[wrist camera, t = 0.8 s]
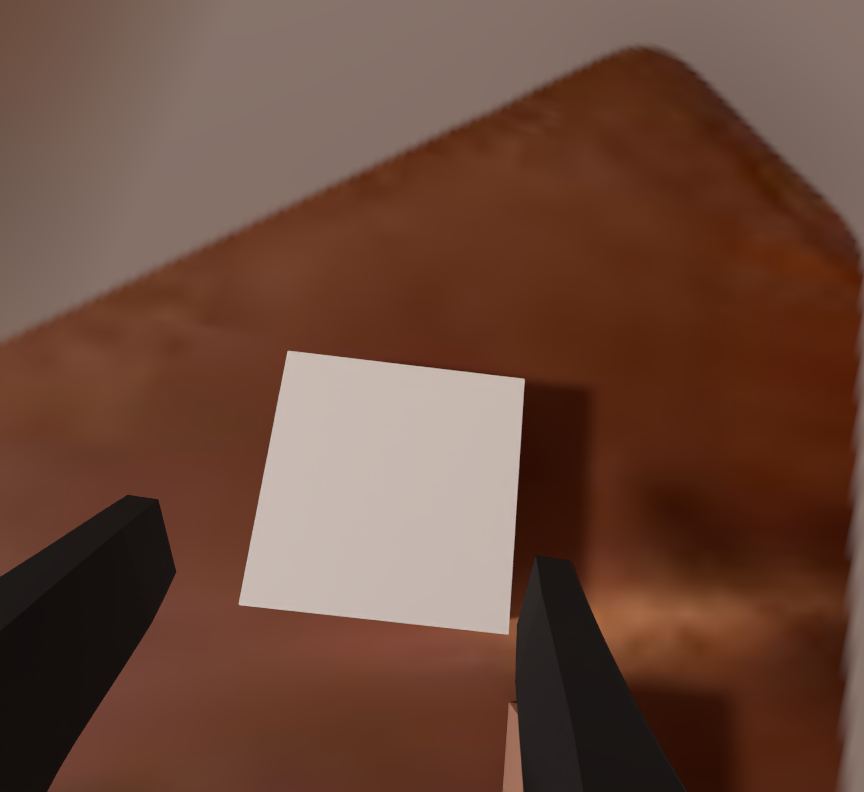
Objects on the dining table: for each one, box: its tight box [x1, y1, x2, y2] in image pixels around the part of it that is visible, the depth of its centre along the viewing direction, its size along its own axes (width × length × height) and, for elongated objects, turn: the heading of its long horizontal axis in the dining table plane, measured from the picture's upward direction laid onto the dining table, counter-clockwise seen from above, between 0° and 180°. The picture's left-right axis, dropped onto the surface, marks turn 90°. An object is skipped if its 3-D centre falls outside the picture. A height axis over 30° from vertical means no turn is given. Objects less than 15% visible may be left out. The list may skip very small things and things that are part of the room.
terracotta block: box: [503, 702, 523, 792], centre depth 20 cm, size 4×4×5 cm
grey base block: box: [239, 351, 525, 634], centre depth 23 cm, size 10×10×4 cm
